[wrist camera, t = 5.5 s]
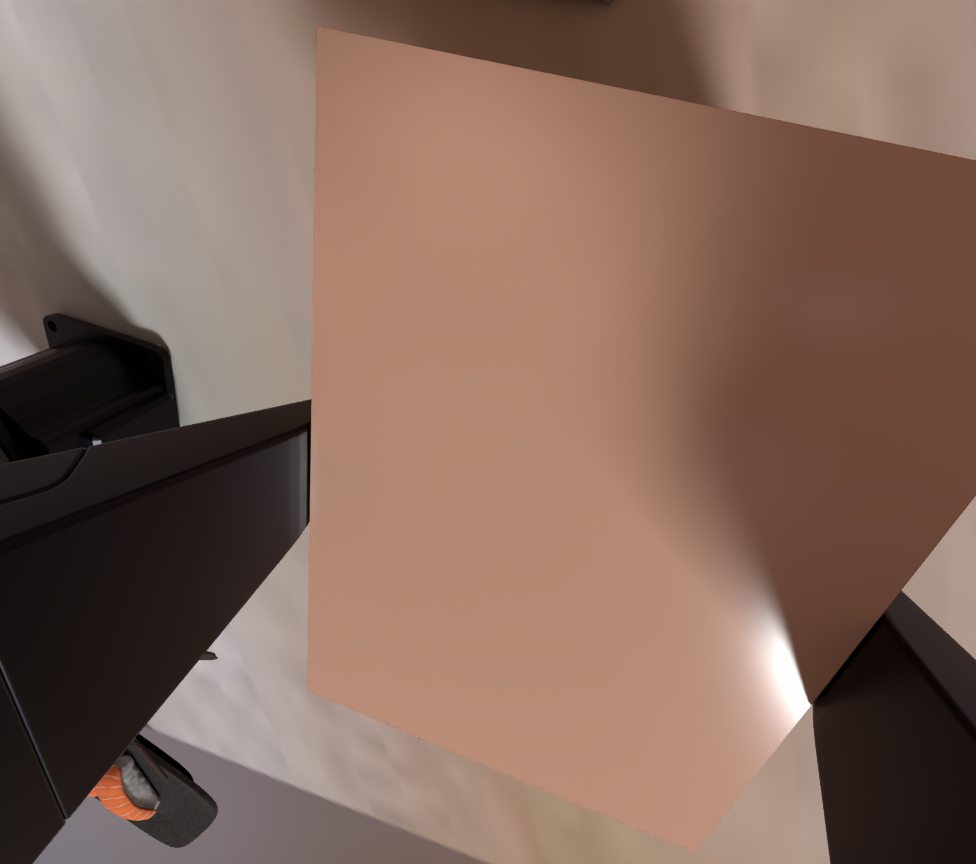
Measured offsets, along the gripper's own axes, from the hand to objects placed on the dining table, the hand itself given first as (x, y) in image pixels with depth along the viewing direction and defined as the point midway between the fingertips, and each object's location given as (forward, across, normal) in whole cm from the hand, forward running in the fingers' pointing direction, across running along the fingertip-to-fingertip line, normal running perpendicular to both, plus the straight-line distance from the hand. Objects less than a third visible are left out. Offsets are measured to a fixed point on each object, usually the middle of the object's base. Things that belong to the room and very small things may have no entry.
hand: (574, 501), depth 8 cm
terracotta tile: (+1, 0, 0) cm, 1 cm away
